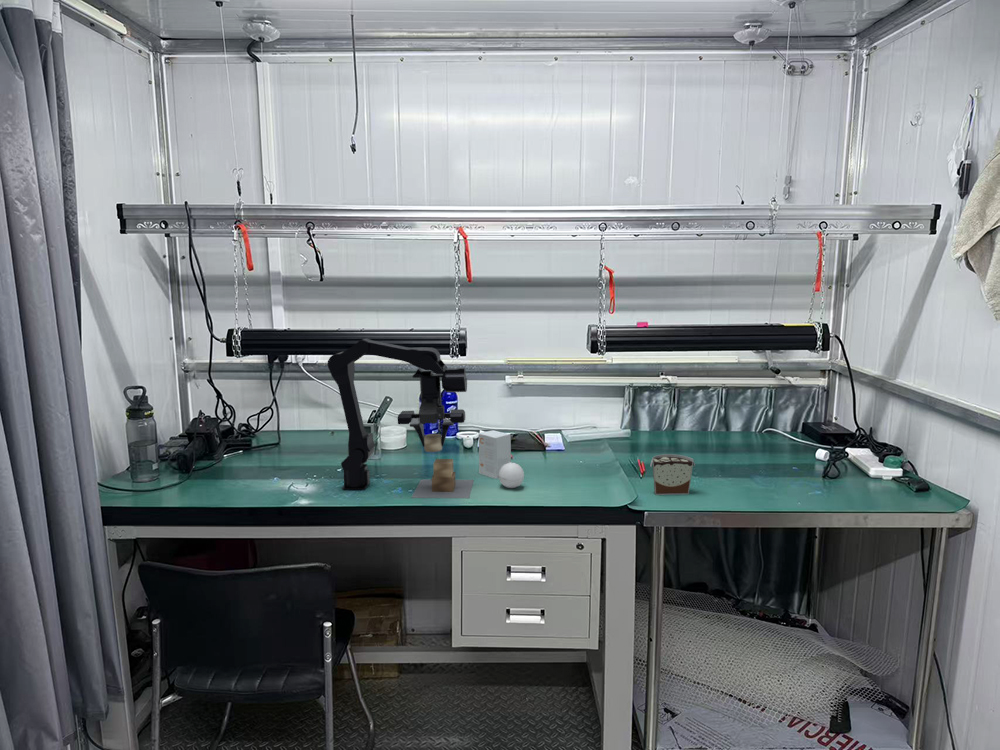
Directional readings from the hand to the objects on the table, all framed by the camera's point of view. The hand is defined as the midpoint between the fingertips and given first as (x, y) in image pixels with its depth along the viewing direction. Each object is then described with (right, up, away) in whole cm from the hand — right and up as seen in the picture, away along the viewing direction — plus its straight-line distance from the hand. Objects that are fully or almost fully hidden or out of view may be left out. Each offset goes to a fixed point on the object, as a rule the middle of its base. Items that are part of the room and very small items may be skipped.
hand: (433, 446), depth 181 cm
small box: (+18, -11, +13) cm, 25 cm away
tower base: (+3, -12, 0) cm, 13 cm away
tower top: (+3, -8, -1) cm, 9 cm away
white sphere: (+21, -12, +1) cm, 24 cm away
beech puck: (0, -1, 0) cm, 1 cm away
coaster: (+3, -12, 0) cm, 13 cm away
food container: (+67, -13, -2) cm, 68 cm away
